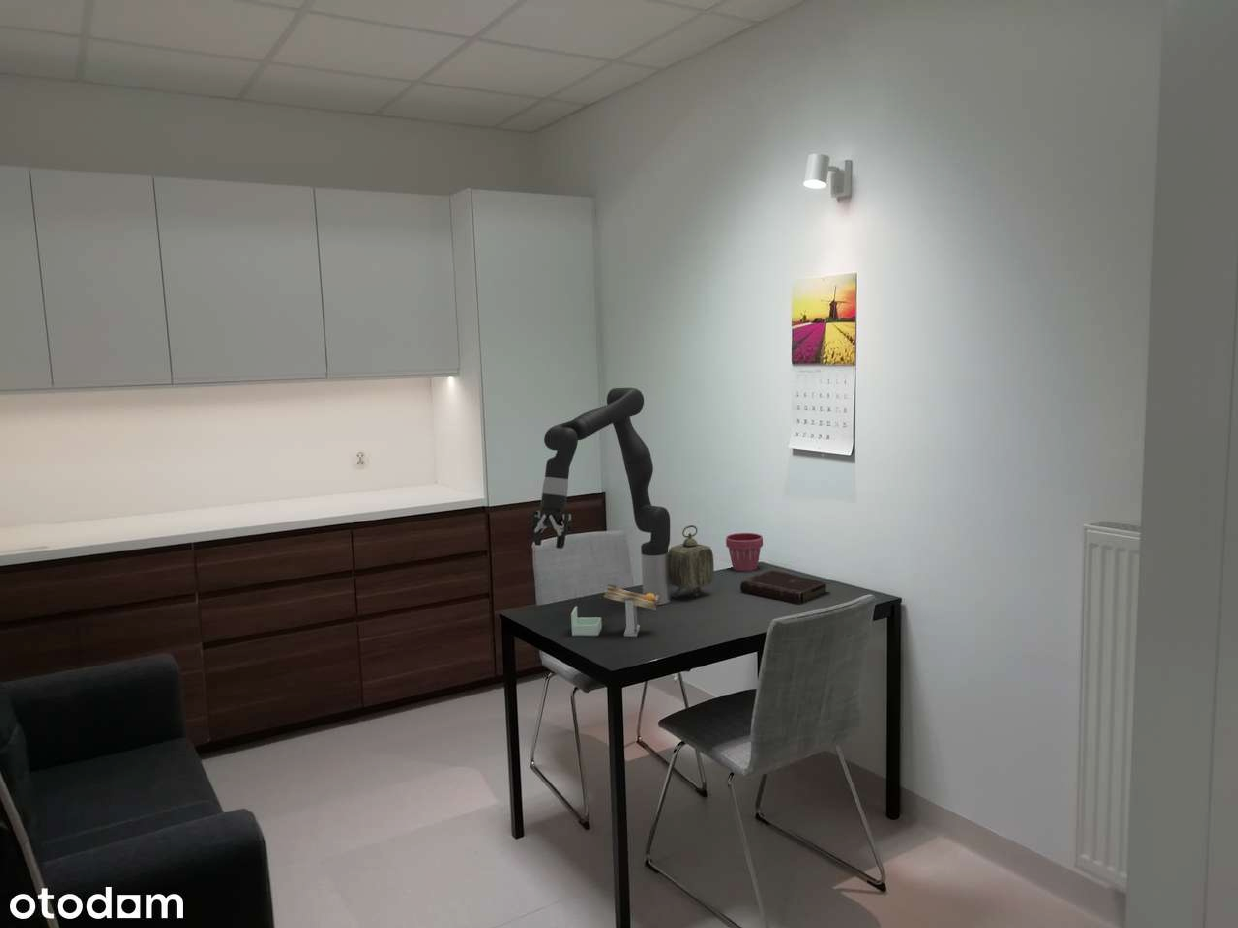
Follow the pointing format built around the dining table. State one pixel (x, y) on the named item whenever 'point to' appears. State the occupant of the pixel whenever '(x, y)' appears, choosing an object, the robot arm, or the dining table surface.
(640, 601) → the lever
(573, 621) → the pale green cubby shelf
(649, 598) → the ball
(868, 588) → the dining table surface
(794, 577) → the diary
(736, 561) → the plant pot
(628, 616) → the fulcrum
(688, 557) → the tabletop clock
